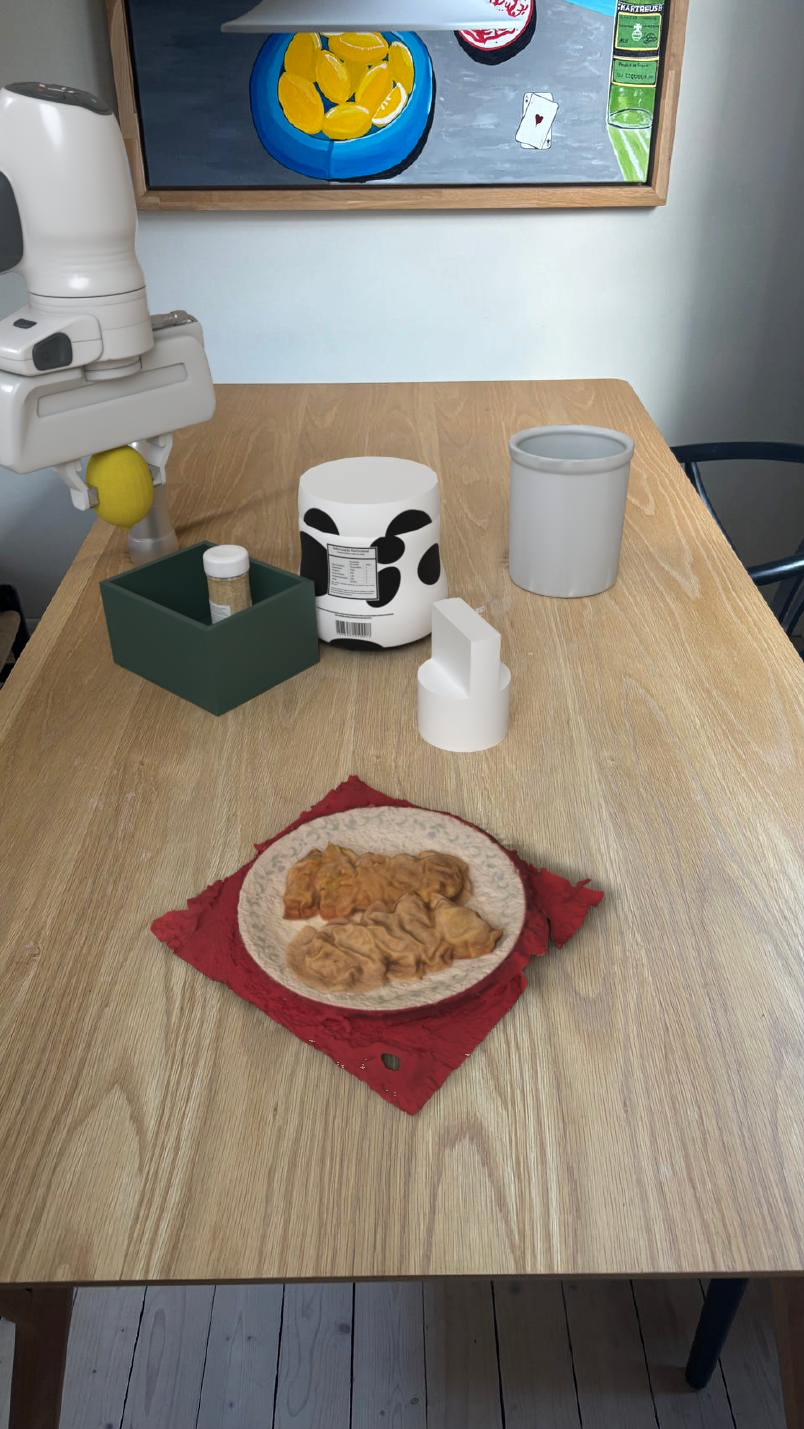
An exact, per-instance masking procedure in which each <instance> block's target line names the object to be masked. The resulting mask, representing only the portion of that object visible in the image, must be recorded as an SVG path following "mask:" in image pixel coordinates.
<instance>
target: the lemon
mask: <svg viewBox="0 0 804 1429" xmlns="http://www.w3.org/2000/svg"><path fill="white" fill-rule="evenodd" d="M85 482H86V483H88V484H89V485H93V486H96V487H97V490H98V497H97V498H98V499H99V502H100V504H99V506H96V507H94V508H92V509H93V511H94V513H95V514H96V515H97V516H98V517H99V518H100V519H101V520H103V521H104V522H105V523H107V524H109V525H112V526H116V527H118V528H119V529H120V530H122V532H123V531H124V532H129V530H131V529H132V527H133V526H134V524H136V523H138V522H140V521H141V520H142V519H144V518H145V517H146V516H147V514H148V513H149V511H150V509H151V507H152V504H153V499H154V487H153V481H152V476H151V473H150V470H149V467H148V465H147V463H146V461H145V459H144V458H143V456H142V455H141V454H140V453H139V452H138V451H137V450H135V449H134V448H132V447H130V446H128V445H124V446H121V447H117V448H114V449H111V450H107V451H104V452H100V453H97V454H93V455H90V456H89V460H88V462H87V465H86V470H85Z"/></svg>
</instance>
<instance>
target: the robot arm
mask: <svg viewBox="0 0 804 1429" xmlns="http://www.w3.org/2000/svg"><path fill="white" fill-rule="evenodd" d="M136 202H137V201H136V194H135V190H134V184H133V178H132V172H131V167H130V162H129V158H128V152H127V149H126V145H125V141H124V137H123V134H122V131H121V128H120V125H119V122H118V120H117V117H116V115H115V114H114V111H113V109H112V108H111V107H110V106H109V104H107V103H106V102H104V100H103V99H102V98H100V97H98V96H96V95H94V94H93V93H90V92H88V91H85V90H82V89H78V88H76V87H75V88H74V87H71V86H66V85H62V84H61V85H60V84H56V83H50V84H49V83H42V82H39V81H16V82H12V83H9V84H6V85H4V86H2V87H1V89H0V276H3V275H6V274H10V273H15V274H17V275H19V276H21V277H22V278H23V280H24V282H25V284H26V288H27V294H28V299H29V302H28V303H26V304H25V305H23V306H22V307H20V308H19V309H18V310H16V311H14V312H13V313H12V314H10V315H8V316H7V317H5V318H4V319H2V320H0V467H1V468H3V469H5V470H7V471H9V472H12V473H15V474H18V475H27V474H28V475H29V474H31V473H35V472H38V471H41V470H45V469H48V468H52V470H53V471H54V472H55V474H57V475H58V477H59V478H60V479H61V480H62V481H63V483H64V484H65V485H66V486H67V487H68V488H69V490H70V496H71V501H72V504H73V506H74V507H75V509H77V510H80V511H82V512H85V511H88V510H91V509H93V508H94V507H96V506H99V504H100V502H99V499H98V498H97V497H98V490H97V487H96V486H93V485H89V484H88V483H86V481H83V479H82V478H81V477H80V476H79V475H78V473H79V472H82V470H83V467H82V460H81V459H83V458H86V457H91V456H92V455H93V454H97V453H100V452H104V451H107V450H111V449H114V448H117V447H121V446H124V445H128V444H131V443H135V442H138V441H142V440H145V441H146V442H148V443H151V444H150V448H149V452H148V456H147V460H146V463H147V465H148V467H149V470H150V473H151V476H152V481H153V487H154V488H155V487H158V486H161V485H164V484H166V485H167V473H166V474H165V466H164V465H166V466H167V462H168V460H169V456H170V454H171V452H172V448H173V445H174V439H173V433H174V432H175V431H179V430H183V429H187V428H190V427H192V426H197V425H199V424H200V425H201V424H203V423H206V422H210V421H211V420H212V418H213V416H214V414H215V412H216V409H217V399H216V392H215V387H214V381H213V377H212V372H211V367H210V364H209V361H208V360H209V359H208V358H207V357H208V356H207V353H206V351H205V339H204V330H203V327H202V324H201V323H200V322H199V320H198V319H197V318H196V317H195V316H194V315H192V314H189V313H188V312H187V311H186V310H184V309H175V310H171V311H169V313H168V312H167V313H159V314H158V313H157V314H151V311H150V310H151V309H150V303H149V302H150V301H149V292H148V284H147V279H146V276H145V273H144V270H143V268H142V265H141V264H140V260H139V256H138V250H137V236H138V230H139V216H138V209H137V203H136ZM189 320H190V321H189Z"/></svg>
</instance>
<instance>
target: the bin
mask: <svg viewBox="0 0 804 1429" xmlns="http://www.w3.org/2000/svg"><path fill="white" fill-rule="evenodd" d="M216 546H220V544H217V543H214V542H212V541H209V540H207V539H204V540H201V541H199V542H196V543H194V544H191V545H188V546H186V547H184V548H181V549H179V551H176V552H173V553H171V554H168V555H166V556H163V557H161V558H158V559H156V560H153V561H151V562H148V563H146V564H143V565H141V566H138V567H137V566H135V567H133V568H131V569H128V570H126V571H122V572H121V573H118V574H116V575H113V576H109V577H108V578H106V579H103V580H100V581H98V586H99V591H100V597H101V602H102V606H103V612H104V617H105V622H106V628H107V633H108V639H109V643H110V650H111V654H112V660H113V663H114V664H116V665H117V666H120V667H122V668H123V669H126V670H127V671H129V672H131V673H133V674H135V675H137V676H139V677H141V678H143V679H145V680H147V681H148V682H150V683H153V684H154V685H156V686H158V687H161V688H162V689H164V690H166V691H168V692H170V693H172V694H174V695H176V696H178V697H179V698H181V699H183V700H185V701H187V702H189V703H191V704H193V705H194V706H197V707H198V708H201V709H202V710H205V711H206V712H208V713H209V714H212V715H214V716H215V717H218V718H219V717H221V716H222V715H225V714H226V713H228V712H230V711H232V710H233V709H236V708H237V707H239V706H241V705H243V704H245V703H247V702H248V701H250V700H252V699H254V698H256V697H258V696H259V695H261V694H263V693H265V692H267V691H269V690H271V689H273V688H274V687H276V686H278V685H280V684H281V683H283V682H285V681H287V680H289V679H291V678H293V677H295V676H296V675H298V674H300V673H302V672H304V671H305V670H307V669H309V668H311V667H313V666H315V665H317V664H318V663H320V652H319V639H318V634H317V618H316V603H315V588H314V581H312V580H310V579H307V578H305V577H302V576H299V575H298V573H297V574H296V573H294V572H291V571H289V570H286V569H283V568H281V567H278V566H275V565H272V564H269V563H268V562H265V561H263V560H260V559H257V558H254V557H251V556H250V555H248V557H249V566H250V567H249V569H248V570H249V572H248V575H249V586H250V594H251V599H252V606H251V607H248V608H246V609H244V610H242V611H240V612H238V613H236V614H233V615H231V616H229V617H227V618H225V619H223V620H221V621H218V622H216V623H214V624H212V617H211V609H210V601H209V597H210V596H209V588H208V581H207V576H206V573H205V570H204V562H203V555H204V553H205V552H206V551H207V550H208V549H210V548H212V547H216Z"/></svg>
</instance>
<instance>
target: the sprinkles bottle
mask: <svg viewBox="0 0 804 1429" xmlns="http://www.w3.org/2000/svg"><path fill="white" fill-rule="evenodd" d="M219 545H220V544H219ZM248 556H249V552H248V550H247V549H246V548H245V547H244V546H240V545H238V544H221V545H220V546H216V547H212V548H210V549H208V550H207V551H206V552H205V553H204V555H203V562H204V570H205V573H206V576H207V581H208V588H209V596H210V597H209V601H210V609H211V617H212V624H214V623H216V622H218V621H221V620H223V619H225V618H227V617H229V616H231V615H233V614H236V613H238V612H240V611H242V610H244V609H246V608H248V607H251V606H252V599H251V594H250V586H249V575H248V572H249V570H248V569H249V567H250V566H249V557H250V556H249V557H248Z"/></svg>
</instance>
